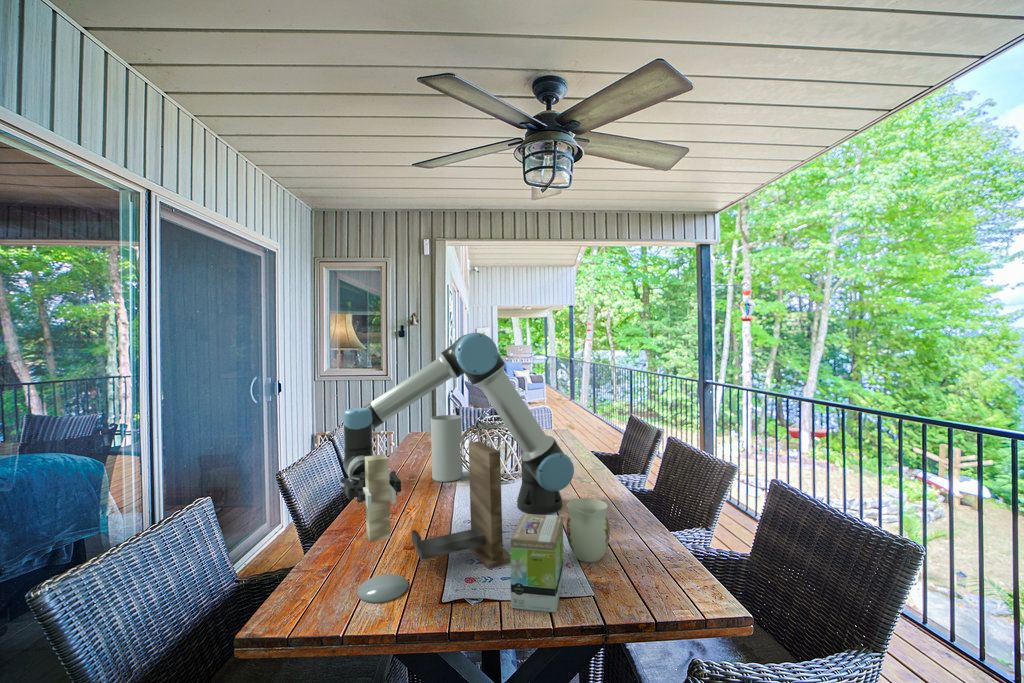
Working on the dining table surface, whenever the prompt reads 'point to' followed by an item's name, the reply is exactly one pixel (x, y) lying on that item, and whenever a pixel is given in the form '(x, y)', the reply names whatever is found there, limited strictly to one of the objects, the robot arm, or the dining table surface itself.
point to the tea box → (537, 563)
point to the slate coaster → (382, 588)
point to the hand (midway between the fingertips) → (382, 499)
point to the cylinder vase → (446, 448)
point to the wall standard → (476, 514)
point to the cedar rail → (377, 497)
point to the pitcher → (588, 528)
